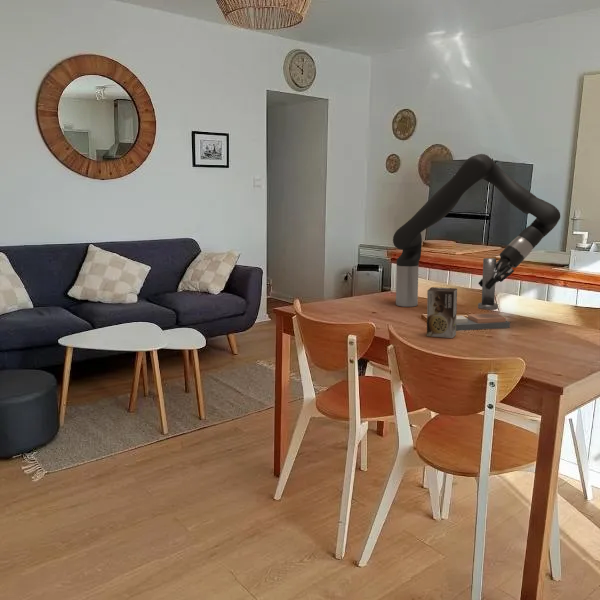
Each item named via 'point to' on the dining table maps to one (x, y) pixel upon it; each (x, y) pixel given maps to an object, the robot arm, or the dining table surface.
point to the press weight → (487, 294)
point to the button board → (481, 325)
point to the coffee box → (441, 312)
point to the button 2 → (486, 318)
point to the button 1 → (461, 319)
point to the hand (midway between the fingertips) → (483, 286)
